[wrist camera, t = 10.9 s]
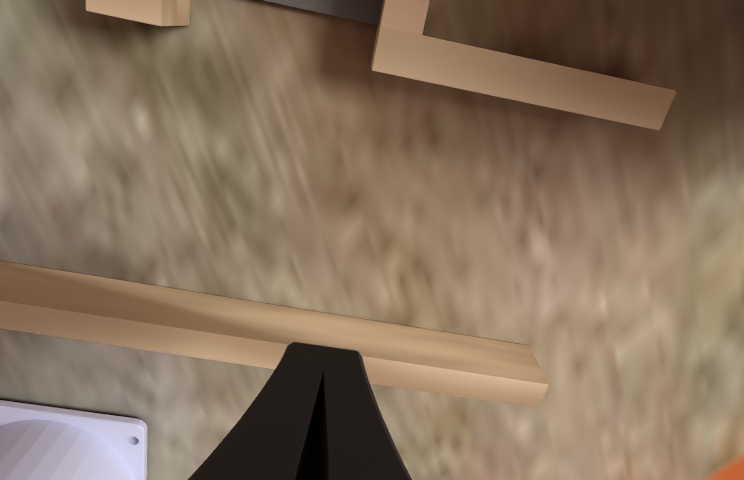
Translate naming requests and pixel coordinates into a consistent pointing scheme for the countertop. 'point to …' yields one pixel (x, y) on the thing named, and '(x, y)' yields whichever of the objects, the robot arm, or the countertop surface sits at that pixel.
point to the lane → (287, 325)
